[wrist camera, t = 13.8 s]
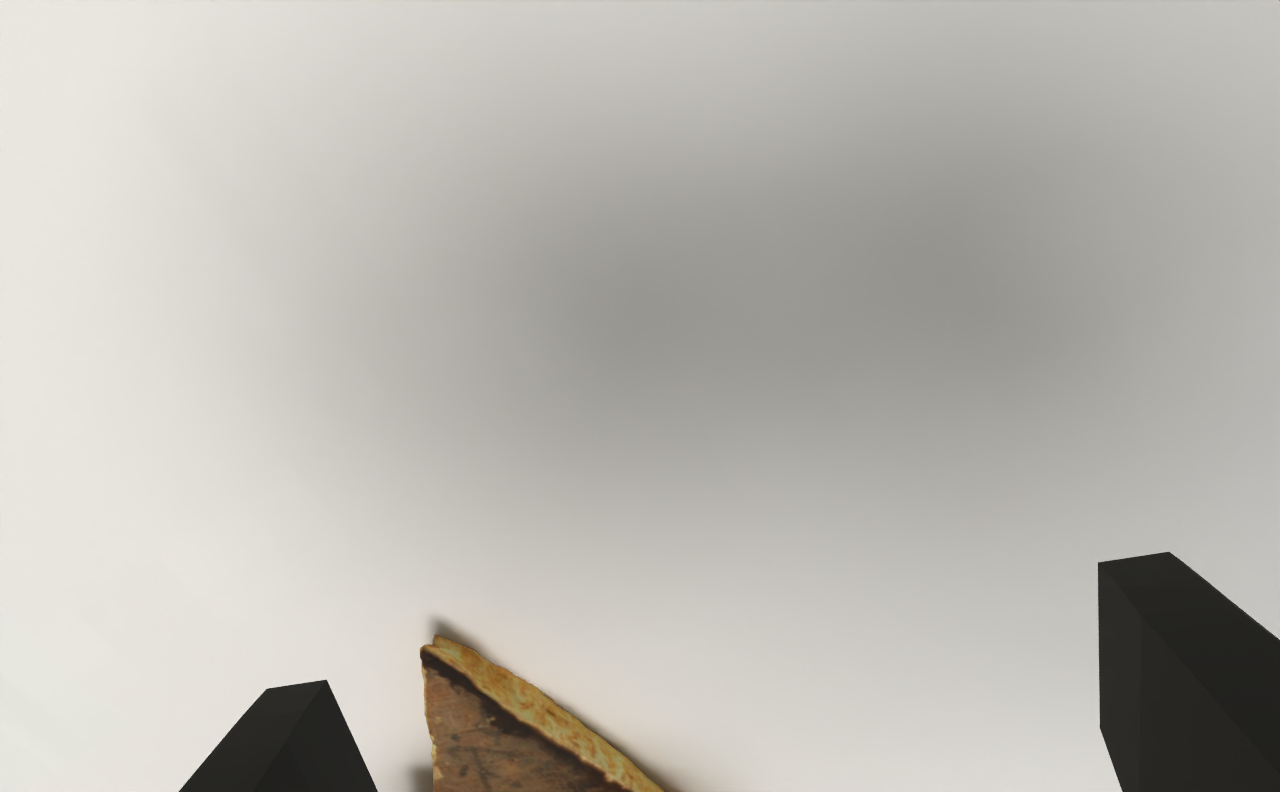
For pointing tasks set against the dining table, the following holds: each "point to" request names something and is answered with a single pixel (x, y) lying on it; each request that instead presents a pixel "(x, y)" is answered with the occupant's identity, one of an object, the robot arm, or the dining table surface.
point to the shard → (510, 733)
